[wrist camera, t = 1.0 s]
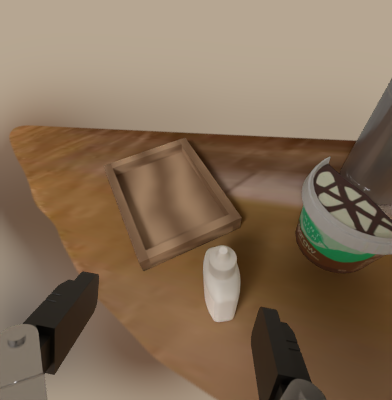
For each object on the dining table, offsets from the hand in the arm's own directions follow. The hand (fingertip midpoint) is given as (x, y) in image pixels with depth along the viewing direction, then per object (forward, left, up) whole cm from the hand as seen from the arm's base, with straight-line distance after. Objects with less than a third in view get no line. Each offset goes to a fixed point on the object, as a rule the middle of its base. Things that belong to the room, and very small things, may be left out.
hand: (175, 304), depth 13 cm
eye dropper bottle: (-5, -4, -19) cm, 20 cm away
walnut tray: (-5, -20, -18) cm, 28 cm away
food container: (-19, -4, -19) cm, 27 cm away
